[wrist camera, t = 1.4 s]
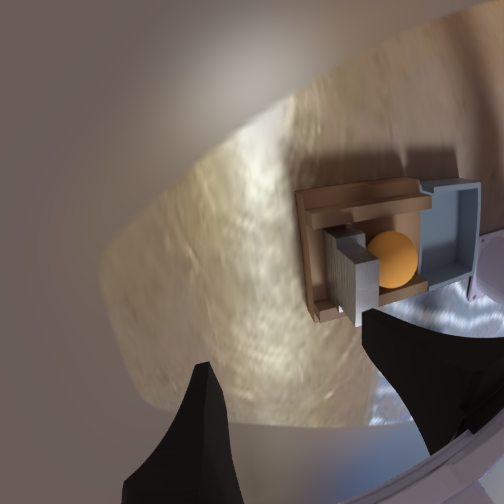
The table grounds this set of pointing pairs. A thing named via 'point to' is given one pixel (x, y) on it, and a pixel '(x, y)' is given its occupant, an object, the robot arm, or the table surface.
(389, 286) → the ball
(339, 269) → the grey stepped block
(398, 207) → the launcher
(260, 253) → the table surface
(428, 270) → the blue-grey open tray
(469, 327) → the table surface
